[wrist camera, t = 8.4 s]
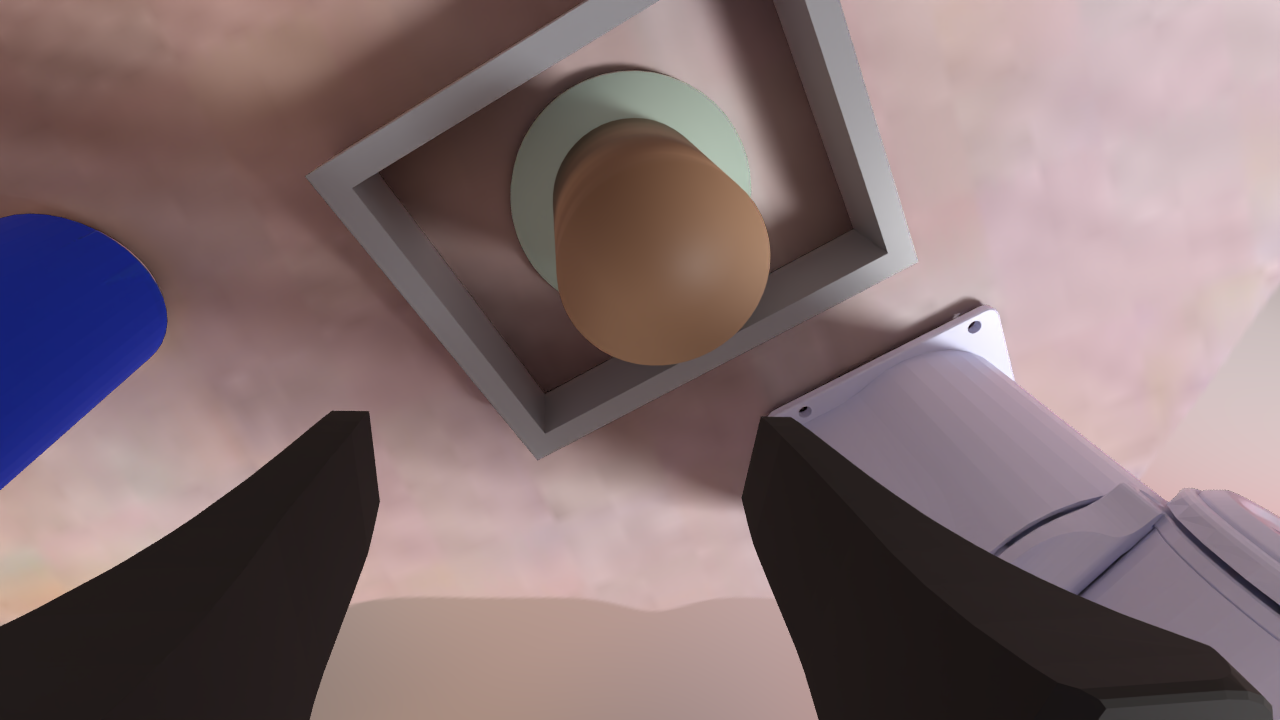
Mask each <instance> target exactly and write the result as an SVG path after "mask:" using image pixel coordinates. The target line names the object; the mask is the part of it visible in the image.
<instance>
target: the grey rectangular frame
mask: <svg viewBox="0 0 1280 720" xmlns="http://www.w3.org/2000/svg"><path fill="white" fill-rule="evenodd" d="M657 1H659V0H585V1H583V2H581V3H580V4H578V5H577V6H575V7H573V8H572V9H570V10H569V11H567V12H565V13H564V14H562V15H561V16H559V17H557V18H556V19H554V20H552V21H551V22H549V23H548V24H546V25H544V26H543V27H541V28H540V29H538V30H536V31H535V32H533V33H532V34H530V35H528V36H527V37H525V38H524V39H522V40H520V41H519V42H517V43H515V44H514V45H512V46H511V47H509V48H507V49H506V50H504V51H503V52H501V53H499V54H498V55H496V56H495V57H493V58H491V59H490V60H488V61H487V62H485V63H483V64H482V65H480V66H478V67H477V68H475V69H474V70H472V71H470V72H469V73H467V74H466V75H464V76H462V77H461V78H459V79H458V80H456V81H454V82H453V83H451V84H450V85H448V86H446V87H445V88H443V89H441V90H440V91H438V92H437V93H435V94H433V95H432V96H430V97H429V98H427V99H425V100H424V101H422V102H421V103H419V104H417V105H416V106H414V107H412V108H411V109H409V110H408V111H406V112H404V113H403V114H401V115H400V116H398V117H396V118H395V119H393V120H392V121H390V122H388V123H387V124H385V125H384V126H382V127H380V128H379V129H377V130H375V131H374V132H372V133H371V134H369V135H367V136H366V137H364V138H363V139H361V140H359V141H358V142H356V143H355V144H353V145H351V146H350V147H348V148H347V149H345V150H343V151H342V152H340V153H338V154H337V155H335V156H334V157H332V158H331V159H329V160H328V161H326V162H325V163H324V164H322V165H321V166H319V167H318V168H316V169H315V170H314V171H312V172H311V173H309V174H308V175H306V176H305V177H306V178H307V180H308V181H309V182H310V183H311V184H312V186H313V187H314V188H315V189H316V191H317V192H318V193H319V194H320V195H321V197H322V198H323V199H324V200H325V202H326V203H327V204H328V205H329V206H330V208H331V209H332V210H333V211H334V213H335V214H336V215H337V216H338V217H339V219H340V220H341V221H342V222H343V224H344V225H345V226H346V227H347V228H348V230H349V231H350V232H351V233H352V235H353V236H354V237H355V238H356V239H357V241H358V242H359V243H360V244H361V246H362V247H363V248H364V249H365V250H366V252H367V253H368V254H369V255H370V257H371V258H372V259H373V260H374V261H375V263H376V264H377V265H378V266H379V268H380V269H381V270H382V271H383V272H384V274H385V275H386V276H387V277H388V278H389V280H390V281H391V282H392V283H393V285H394V286H395V287H396V288H397V289H398V291H399V292H400V293H401V294H402V296H403V297H404V298H405V299H406V300H407V302H408V303H409V304H410V305H411V307H412V308H413V309H414V310H415V311H416V313H417V314H418V315H419V316H420V318H421V319H422V320H423V321H424V322H425V324H426V325H427V326H428V327H429V329H430V330H431V331H432V332H433V333H434V335H435V336H436V337H437V338H438V340H439V341H440V342H441V343H442V344H443V346H444V347H445V348H446V349H447V351H448V352H449V353H450V354H451V355H452V357H453V358H454V359H455V360H456V361H457V363H458V364H459V365H460V366H461V368H462V369H463V370H464V371H465V372H466V374H467V375H468V376H469V377H470V379H471V380H472V381H473V382H474V383H475V385H476V386H477V387H478V388H479V390H480V391H481V392H482V393H483V394H484V396H485V397H486V398H487V399H488V401H489V402H490V403H491V404H492V405H493V407H494V408H495V409H496V410H497V412H498V413H499V414H500V415H501V416H502V418H503V419H504V420H505V421H506V423H507V424H508V425H509V426H510V427H511V429H512V430H513V431H514V432H515V434H516V435H517V436H518V437H519V438H520V440H521V441H522V442H523V443H524V444H525V446H526V447H527V448H528V449H529V451H530V452H531V453H532V454H533V455H534V457H535V458H536V459H537V460H539V459H541V458H543V457H545V456H547V455H549V454H551V453H553V452H555V451H557V450H558V449H560V448H562V447H564V446H566V445H568V444H570V443H572V442H574V441H576V440H578V439H580V438H581V437H583V436H585V435H587V434H589V433H591V432H593V431H595V430H597V429H599V428H601V427H603V426H605V425H606V424H608V423H610V422H612V421H614V420H616V419H618V418H620V417H622V416H624V415H626V414H628V413H629V412H631V411H633V410H635V409H637V408H639V407H641V406H643V405H645V404H647V403H649V402H651V401H653V400H654V399H656V398H658V397H660V396H662V395H664V394H666V393H668V392H670V391H672V390H674V389H676V388H677V387H679V386H681V385H683V384H685V383H687V382H689V381H691V380H693V379H695V378H697V377H699V376H701V375H702V374H704V373H706V372H708V371H710V370H712V369H714V368H716V367H718V366H720V365H722V364H724V363H725V362H727V361H729V360H731V359H733V358H735V357H737V356H739V355H741V354H743V353H745V352H747V351H748V350H750V349H752V348H754V347H756V346H758V345H760V344H762V343H764V342H766V341H768V340H770V339H772V338H773V337H775V336H777V335H779V334H781V333H783V332H785V331H787V330H789V329H791V328H793V327H795V326H796V325H798V324H800V323H802V322H804V321H806V320H808V319H810V318H812V317H814V316H816V315H818V314H820V313H821V312H823V311H825V310H827V309H829V308H831V307H833V306H835V305H837V304H839V303H841V302H843V301H844V300H846V299H848V298H850V297H852V296H854V295H856V294H858V293H860V292H862V291H864V290H866V289H868V288H869V287H871V286H873V285H875V284H877V283H879V282H881V281H883V280H885V279H887V278H889V277H891V276H892V275H894V274H896V273H898V272H900V271H902V270H904V269H906V268H908V267H910V266H912V265H914V264H915V263H917V262H918V259H917V255H916V252H915V249H914V245H913V242H912V239H911V235H910V232H909V229H908V226H907V222H906V219H905V216H904V212H903V209H902V206H901V202H900V199H899V196H898V192H897V189H896V186H895V182H894V179H893V176H892V172H891V169H890V166H889V163H888V159H887V156H886V153H885V149H884V146H883V143H882V139H881V136H880V133H879V129H878V126H877V123H876V119H875V116H874V113H873V109H872V106H871V103H870V100H869V96H868V93H867V90H866V86H865V83H864V80H863V76H862V73H861V70H860V66H859V63H858V60H857V56H856V53H855V50H854V46H853V43H852V40H851V37H850V33H849V30H848V27H847V23H846V20H845V17H844V13H843V10H842V7H841V3H840V0H773V2H774V5H775V8H776V11H777V14H778V16H779V19H780V22H781V25H782V28H783V31H784V33H785V36H786V39H787V42H788V45H789V48H790V50H791V53H792V56H793V59H794V62H795V65H796V68H797V70H798V73H799V76H800V79H801V82H802V85H803V87H804V90H805V93H806V96H807V99H808V102H809V104H810V107H811V110H812V113H813V116H814V119H815V121H816V124H817V127H818V130H819V133H820V136H821V138H822V141H823V144H824V147H825V150H826V153H827V155H828V158H829V161H830V164H831V167H832V170H833V172H834V175H835V178H836V181H837V184H838V187H839V189H840V192H841V195H842V198H843V201H844V204H845V207H846V209H847V212H848V215H849V218H850V221H851V224H852V226H853V229H852V230H851V231H849V232H847V233H845V234H843V235H841V236H839V237H837V238H836V239H834V240H832V241H830V242H828V243H826V244H824V245H823V246H821V247H819V248H817V249H815V250H813V251H811V252H809V253H808V254H806V255H804V256H802V257H800V258H798V259H796V260H795V261H793V262H791V263H789V264H787V265H785V266H783V267H781V268H780V269H778V270H776V271H774V272H772V273H770V274H768V280H767V283H766V286H765V289H764V293H763V295H762V297H761V299H760V301H759V303H758V305H757V307H756V309H755V310H754V312H753V314H752V315H751V317H750V318H749V319H748V320H747V322H746V323H745V324H744V325H743V327H742V328H741V329H740V330H739V331H738V332H737V333H736V334H735V335H734V336H733V337H731V338H730V339H729V340H727V341H726V342H725V343H724V344H722V345H721V346H719V347H718V348H716V349H714V350H713V351H711V352H709V353H707V354H705V355H703V356H701V357H698V358H695V359H692V360H689V361H686V362H682V363H677V364H671V365H641V364H635V363H631V362H626V361H623V360H620V359H618V358H615V357H613V358H612V359H610V360H608V361H606V362H604V363H602V364H600V365H598V366H597V367H595V368H593V369H591V370H589V371H587V372H585V373H583V374H582V375H580V376H578V377H576V378H574V379H572V380H570V381H569V382H567V383H565V384H563V385H561V386H559V387H557V388H555V389H554V390H552V391H550V392H548V393H546V394H544V392H543V391H542V390H541V388H540V387H539V386H538V384H537V383H536V382H535V380H534V379H533V378H532V376H531V375H530V374H529V372H528V371H527V370H526V369H525V367H524V366H523V365H522V363H521V362H520V361H519V359H518V358H517V357H516V355H515V354H514V353H513V351H512V350H511V349H510V347H509V346H508V345H507V343H506V342H505V341H504V339H503V338H502V337H501V335H500V334H499V333H498V331H497V330H496V329H495V327H494V326H493V325H492V323H491V322H490V321H489V319H488V318H487V317H486V315H485V314H484V313H483V311H482V310H481V309H480V307H479V306H478V305H477V303H476V302H475V301H474V299H473V298H472V297H471V295H470V294H469V293H468V291H467V290H466V289H465V287H464V286H463V285H462V283H461V282H460V281H459V279H458V278H457V277H456V275H455V274H454V273H453V271H452V270H451V269H450V267H449V266H448V265H447V263H446V262H445V261H444V259H443V258H442V257H441V255H440V254H439V253H438V252H437V250H436V249H435V248H434V246H433V245H432V244H431V242H430V241H429V240H428V238H427V237H426V236H425V234H424V233H423V232H422V230H421V229H420V228H419V226H418V225H417V224H416V222H415V221H414V220H413V218H412V217H411V216H410V214H409V213H408V212H407V210H406V209H405V208H404V206H403V205H402V204H401V202H400V201H399V200H398V198H397V197H396V196H395V194H394V193H393V192H392V190H391V189H390V188H389V186H388V185H387V184H386V182H385V181H384V180H383V178H382V177H381V176H380V174H379V173H378V172H379V171H381V170H382V169H384V168H386V167H387V166H389V165H391V164H392V163H394V162H395V161H397V160H399V159H400V158H402V157H404V156H405V155H407V154H409V153H410V152H412V151H413V150H415V149H417V148H418V147H420V146H422V145H423V144H425V143H427V142H428V141H430V140H431V139H433V138H435V137H436V136H438V135H440V134H441V133H443V132H445V131H446V130H448V129H449V128H451V127H453V126H454V125H456V124H458V123H459V122H461V121H463V120H464V119H466V118H467V117H469V116H471V115H472V114H474V113H476V112H477V111H479V110H481V109H482V108H484V107H485V106H487V105H489V104H490V103H492V102H494V101H495V100H497V99H499V98H500V97H502V96H503V95H505V94H507V93H508V92H510V91H512V90H513V89H515V88H517V87H518V86H520V85H522V84H523V83H525V82H526V81H528V80H530V79H531V78H533V77H535V76H536V75H538V74H540V73H541V72H543V71H544V70H546V69H548V68H549V67H551V66H553V65H554V64H556V63H558V62H559V61H561V60H562V59H564V58H566V57H567V56H569V55H571V54H572V53H574V52H576V51H577V50H579V49H580V48H582V47H584V46H585V45H587V44H589V43H590V42H592V41H594V40H595V39H597V38H598V37H600V36H602V35H603V34H605V33H607V32H608V31H610V30H612V29H613V28H615V27H616V26H618V25H620V24H621V23H623V22H625V21H626V20H628V19H630V18H631V17H633V16H634V15H636V14H638V13H639V12H641V11H643V10H644V9H646V8H648V7H649V6H651V5H652V4H654V3H656V2H657Z"/></svg>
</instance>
